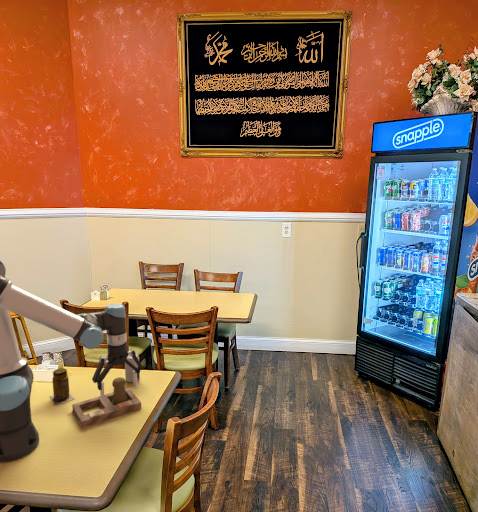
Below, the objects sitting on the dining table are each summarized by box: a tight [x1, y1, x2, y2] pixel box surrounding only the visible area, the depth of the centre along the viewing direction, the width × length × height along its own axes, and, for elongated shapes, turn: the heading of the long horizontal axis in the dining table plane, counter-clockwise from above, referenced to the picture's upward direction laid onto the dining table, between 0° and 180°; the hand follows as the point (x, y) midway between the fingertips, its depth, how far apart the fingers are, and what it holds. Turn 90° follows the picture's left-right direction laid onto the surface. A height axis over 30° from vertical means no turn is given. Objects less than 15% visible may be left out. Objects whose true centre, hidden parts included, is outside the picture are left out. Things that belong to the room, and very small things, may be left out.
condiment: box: [50, 367, 75, 406], centre depth 161 cm, size 7×8×12 cm
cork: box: [112, 377, 128, 406], centre depth 158 cm, size 6×6×11 cm
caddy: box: [71, 387, 142, 429], centre depth 155 cm, size 23×14×3 cm, turn 126°
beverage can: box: [124, 352, 141, 383], centre depth 177 cm, size 6×6×12 cm
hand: (119, 391), depth 158 cm, fingers open, 13 cm apart
